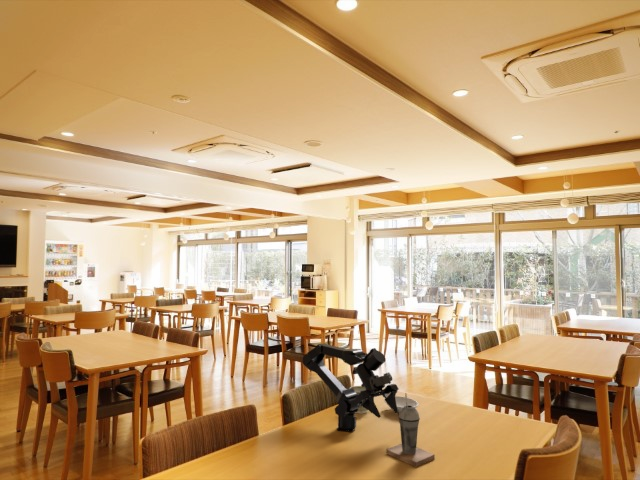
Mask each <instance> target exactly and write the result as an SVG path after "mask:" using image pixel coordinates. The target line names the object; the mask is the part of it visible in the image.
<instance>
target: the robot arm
mask: <svg viewBox="0 0 640 480" xmlns="http://www.w3.org/2000/svg"><path fill="white" fill-rule="evenodd" d="M326 356H328V357H334V358H337V359H339V360H342V361H343V363H344V364H347V365H349V366H354V367H353V369H352V375H357V376H358V377H359V380H360V381H361V382H362V383H361V385H360V386H362V387H365V389H366V390H364V391H361V392H360V393H359V394H357V393H356V392H355V391H354V389H352V388H350V387H349V388H346V387H345V386H344V385H343V383H341V381H340V380H339V379H337V377H336V376H335V375H334V374H333V373H332V372H331V371H330V370H329V368H327V366H326V364H325V360H324V358H325V357H326ZM386 359H387V358H386V357H385V355H384V353H382V352H381V351H379V350H377V348H376V347H374V348H370V350H369V352H368V353H366V352H364V350H362V349H361V348H344V347H339V346H337V345H335V346H334V345H332V344H328V343H318V344H317V345H316V346H315V347H314V348H312V349H311V350H310V351H308V352H307V353H305V354H303V356H302V361H301V362H302V365H303V366H304V367H305V368H307V370H309V371H311V372H313V373H315V374H316V375H317V376H318V377H319V378H320V380H322V381H323V383H324V384H325V385H326V386H327V388H328V389H330V391H331V392H332V393H333V394H334V395H335V397H336V402H337V406H335V407H334V413H335V415H337V428H336V430H337V431H340V432H341V431H342V432H349V433H353V432H354V430H355V429H356V428H357V417H356V413H355V412H358V408H359V407H360V406H361V407H364V408H366V409H367V410H368V411H369V412H370V413H371V414H372V415H374V416H375V417H377V418H378V419H379V418H381V413H380V410H379V409H378V407H377V405H376V403H375V398H377V397H380V396H382V397H383V398H384V399H383V401H384V400H385V401H386V402H387V403H388V405H389V406H390V407H391V408H392V409H391V408H390V407H389V406H388V405H387V406H388V407H389V408H390V409H391V411H393V413H395V414H397V413H399V412H398V409H397V405H396V399H395V396H397V395H396V394H397V393H398V390H399V387H398V385H397V384H396V383H392V382H391V381H393V376H392V375H391V373H390V372H386V373H383V375H381V376H379V375H378V374H376V375H375V373H374V372H376V371H377V370H378V369H379V368H380V367H381V366H382V365H383V364H384V363H385V362H386ZM355 365H357V366H355ZM385 401H384V402H385ZM386 402H385V403H386ZM387 403H386V404H387Z"/></svg>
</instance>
